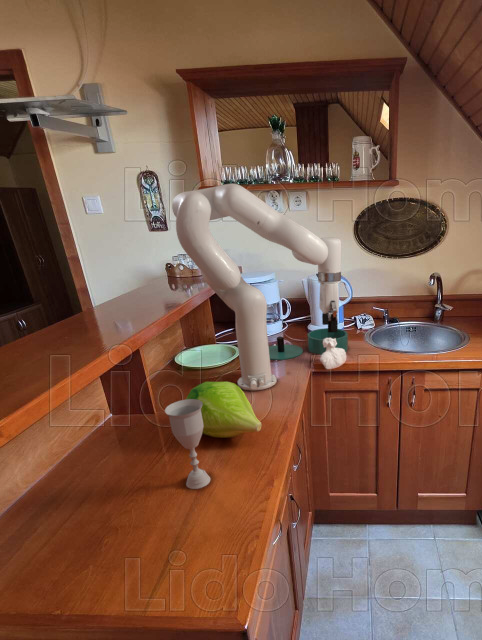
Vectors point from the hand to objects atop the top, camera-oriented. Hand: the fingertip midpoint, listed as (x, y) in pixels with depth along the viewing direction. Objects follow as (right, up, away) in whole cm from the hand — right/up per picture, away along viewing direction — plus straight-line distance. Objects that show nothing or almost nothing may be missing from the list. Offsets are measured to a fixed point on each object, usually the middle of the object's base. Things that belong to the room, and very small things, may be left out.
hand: (329, 328), depth 144 cm
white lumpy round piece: (+1, -13, +6) cm, 14 cm away
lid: (-19, -7, +19) cm, 28 cm away
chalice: (-27, -40, -54) cm, 73 cm away
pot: (-1, -5, +23) cm, 23 cm away
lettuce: (-26, -32, -35) cm, 54 cm away
